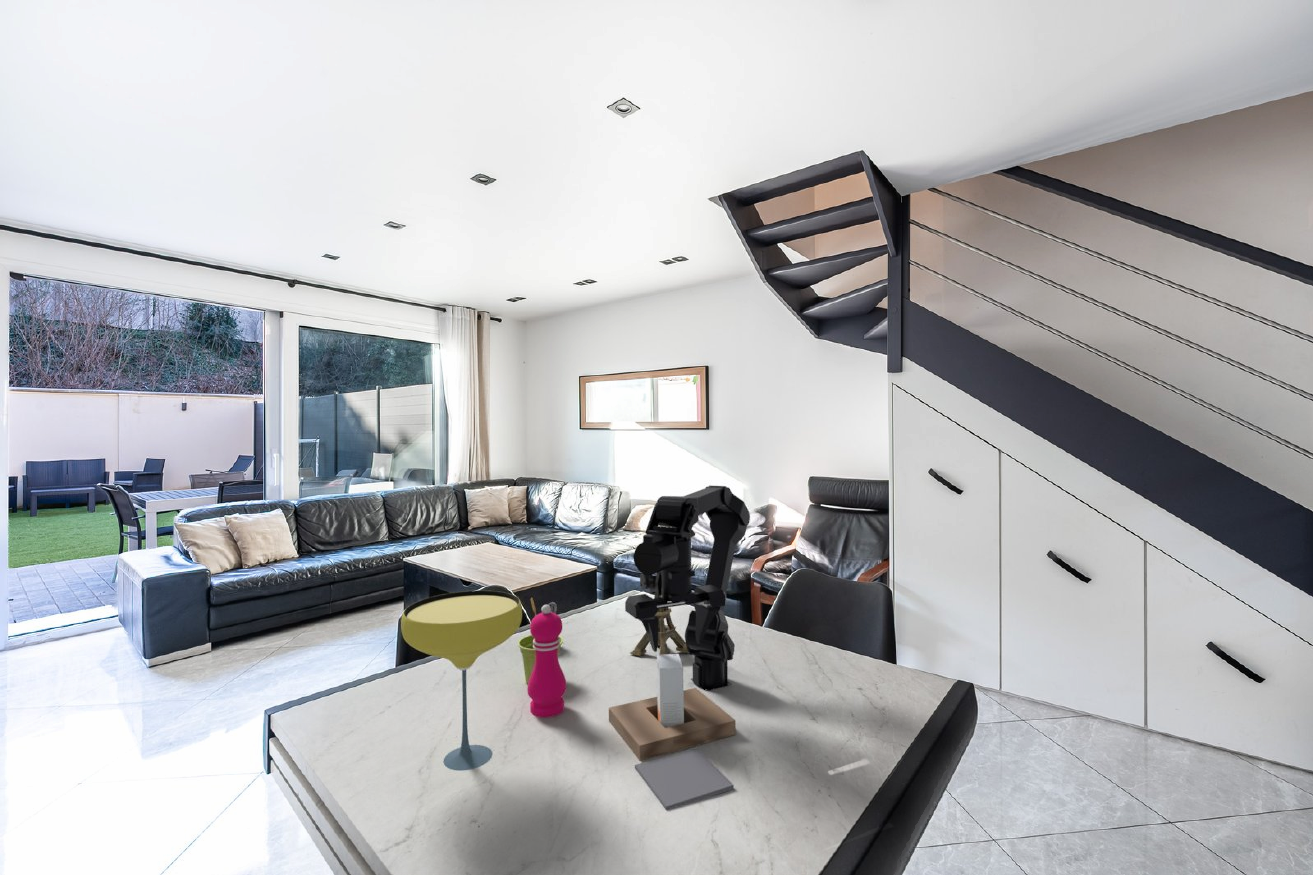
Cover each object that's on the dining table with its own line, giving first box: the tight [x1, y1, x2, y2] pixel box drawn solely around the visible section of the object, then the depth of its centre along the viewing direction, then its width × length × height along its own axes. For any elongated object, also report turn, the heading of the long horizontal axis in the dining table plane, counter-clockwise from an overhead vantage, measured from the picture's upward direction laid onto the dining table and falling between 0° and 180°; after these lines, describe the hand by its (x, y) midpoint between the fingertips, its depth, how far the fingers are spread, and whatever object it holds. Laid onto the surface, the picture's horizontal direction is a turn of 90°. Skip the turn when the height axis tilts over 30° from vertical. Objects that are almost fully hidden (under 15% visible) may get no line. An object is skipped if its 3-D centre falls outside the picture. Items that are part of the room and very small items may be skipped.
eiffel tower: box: [629, 573, 688, 657], centre depth 136 cm, size 11×11×25 cm
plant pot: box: [517, 634, 564, 685], centre depth 119 cm, size 9×9×9 cm
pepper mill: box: [527, 604, 567, 718], centre depth 107 cm, size 7×7×20 cm
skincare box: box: [656, 653, 684, 728], centre depth 100 cm, size 6×4×12 cm
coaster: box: [634, 747, 735, 811], centre depth 85 cm, size 11×11×1 cm
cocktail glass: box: [400, 590, 523, 772], centre depth 90 cm, size 18×18×25 cm
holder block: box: [608, 687, 737, 762], centre depth 100 cm, size 18×14×2 cm
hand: (677, 646), depth 106 cm, fingers open, 9 cm apart
